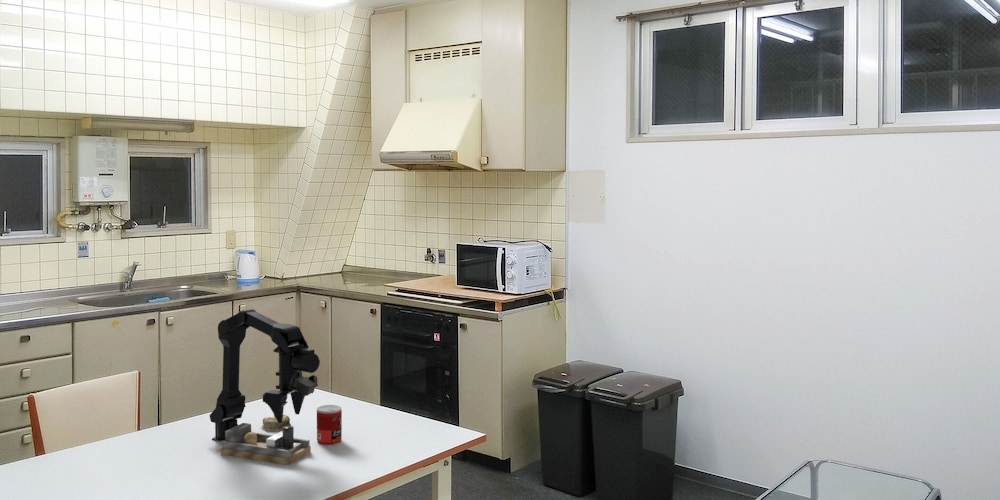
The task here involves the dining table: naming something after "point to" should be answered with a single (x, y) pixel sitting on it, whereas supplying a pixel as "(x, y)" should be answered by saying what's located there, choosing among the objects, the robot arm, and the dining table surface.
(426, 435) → the dining table surface
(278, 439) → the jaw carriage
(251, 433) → the tan rounded piece
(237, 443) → the press base
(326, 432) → the canned food
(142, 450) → the dining table surface
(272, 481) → the dining table surface
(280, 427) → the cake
